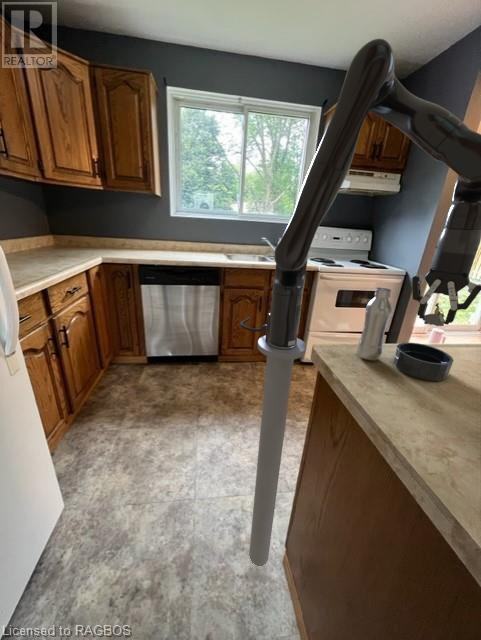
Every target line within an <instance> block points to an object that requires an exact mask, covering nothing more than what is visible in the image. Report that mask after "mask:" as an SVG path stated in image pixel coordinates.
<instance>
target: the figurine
mask: <svg viewBox="0 0 481 640" xmlns="http://www.w3.org/2000/svg"><path fill="white" fill-rule="evenodd" d="M444 318H445V313H444V311H443V309H442V307H440V304H439V302H436V304H435V309H434V311H433V313H428V314H425V315H424V317H423V319H422V321H424V322H423V324H424V325H430V326H436V327H443V326H445V325H446V324H445V320H446V319H444Z"/></svg>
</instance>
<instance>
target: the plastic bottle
mask: <svg viewBox="0 0 481 640" xmlns="http://www.w3.org/2000/svg"><path fill="white" fill-rule="evenodd" d="M373 294H374V297H373V298H372V299H370V300H369V302H368V303H367V304H366V307H365V315H364V324H363V329H362V332H361V335H360V338H359V340H358V342H357V344H356V353H357V355H358V357H360V358H361V359H364V360H367V361H377V360H379V359H380V358H381V356H382V354H383V349H384V346H383V344H384V339H385V338H384V337H385V332H386V329H387V327H388V323H389V322H390V319H391V317H392V315H393V312H394V310H393V309H394V308H393V306H392V303H391V301H390V298H391V294H392V289H390V288H387V287H376V288H375V291H374V293H373Z"/></svg>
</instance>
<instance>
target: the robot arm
mask: <svg viewBox="0 0 481 640" xmlns="http://www.w3.org/2000/svg"><path fill="white" fill-rule="evenodd" d="M337 99H338V100H337V103H336V106H335V108H334V110H333V114H332V116H331V119H330V121H329V123H328V124H327V127H326V129H325V132H324V134H323V136H322V139H321V141H320V143H319V146H318V148H317V151H316V153H315V155H314V157H313V159H312V161H311V164H310V166H309V169H308V171H307V174H306V176H305V179H304V181H303V184H302V186H301V189H300V192H299V194H298V199H297V201H296V205H295V208H294V210H293V215H292V217H291V219H290V220H289V223H288V225H287V226H286V229H285V231H284V233H283V235H282V236H281V238H280V240H279V242H278V243H277V245H276V247H275V249H274V254H273V257H274V262H275V272H274V278H273V280H272V281H273V282H272V290H271V302H270V311H269V312H270V313H267V315H266V316H267V318H266V323H265V324H264V325H262V326H261V327H260V328H252V327H248V326H246V325H244V324H245V323H247V322H249V321H250V320H251V317H250V316H248V317H247V318H246V319H244V320H242V321H240V323H239V326H240V327H241V328H242V329H243V330H246V331H249V332H255V333H256V332H257V333H258V332H259V333H260V332H263V334H264V333H265V335H266V339H265V342H267V343H268V344H269V345H270V346H271V347H273V348H276V349H281V350H289V349H293V348H295V347H296V346H297V338H298V334H299V327H300V321H301V320H300V319H301V313H302V305H303V296H304V290H305V289H304V288H305V283H306V275H307V268H308V260H309V252H310V250H311V246H312V244H313V241H314V238H315V236H316V233H317V230H318V228H319V227H320V225H321V223H322V220H323V219H324V218H325V216H326V214H327V213H328V212H329V210H330V209H331V207H332V205H333V203H334V201H335V200H336V198H337V196H338V194H339V192H340V190H341V188H342V186H343V184H344V182H345V180H346V177H347V175H348V173H349V170H350V168H351V165H352V164H353V163H352V162H353V159H354V155H355V152H356V149H357V146H358V145H357V144H358V141H359V137H360V133H361V131H362V128H363V125H364V123H365V119H366V117H367V115H368V113H369V112H370V113H372V114H373V115H375V116H377V117H380V118H381V119H383V120H384V121H386V122H388V123H389V124H391V125H392V126H393V127H395V128H396V129H398V130H399V131H400V132H401V133H403V134H404V135H405V136H406V137H407V138H409V139H410V141H412V142H413V143H414V144H415V145H417V146H418V147H419V148H420V149H422V150H423V152H425V153H426V154H427V155H428V156H430V157H431V158H432V159H434V160H435V161H436V162H438V163H444V164H445V165H446V166H447V167H448V168H450V170H452V171H453V172H455V174H456V175H457V176H456V181H455V185H454V190H453V194H452V199H451V204H450V206H449V208H448V211H447V214H446V217H445V220H444V224H443V227H442V230H441V232H440V235H439V238H438V240H437V243H436V246H435V250H434V254H433V258H432V260H431V264H430V268H429V270H428V272H427V273H426V274H424V275H418V274H417V275H414V276H413V277H411V283H412V284H411V285H412V289H411V290H412V300H414V301H417V302H418V303H419V306H418V309H417V313H416V314H417V316H418V318H419V319H421V320H423V317H424V315H426V313H427V309H428V306H429V303H428V302H429V300H430V299H431V298H432V296H434V294H437V295H438V294H441V295H444V296H448V299H449V300H448V301H449V305H450V306H449V307H450V308H449V309H448V312H447V314H446V317H445V319H444V320H445V324H444V325H446V326H448V325H449V324H452V323H453V322H454V321H455V318H456V315H457V312H458V311H460V310H462V311H463V310H465V311H466V310H467V309H469V307H470V305H472V303H473V302H474V301H475V299H476V297H477V296H478V295H479V294H480V292H481V284H480V283H479V284H477V283H475V282H472V281H470V277H469V276H470V273H471V270H472V267H473V264H474V261H475V259H476V256H477V252H478V250H479V247H480V243H481V133H479V132H477V131H475V130H472V129H471V128H470V127H468V125H467V124H466V123H464V122H463V121H462V120H460V119H459V118H458V117H457V116H456V115H454V113H452V112H451V111H449V110H448V109H446V108H445V107H443V106H441V105H439V104H437V103H435V102H432V101H428V100H426V99H423V98H421V97H418V96H416V95H415V94H413V93H411V92H410V91H409V90H407V88H406V87H404V85H403V84H402V83H401V82H400V80H399V79H398V78H397V77H396V75H395V54H394V51H393V48H392V46H391V44H390V43H389V41H387V40H386V39H384V38H375V39H371V40H369V41H368V42H367V43H365V44H364V45H363V46H362V47H361V48H360V49H359V50H358V51H357V52H356V53H355V55H354V56H353V58H352V60H351V62H350V64H349V66H348V68H347V71H346V75H345V78H344V81H343V84H342V87H341V90H340V93H339V96H338V98H337ZM424 281H426V283H427V286H428V287H429V288H428V290H427V291H426V292H425V294H424V295H422V294H421V293H422V292H421V285H423V283H424ZM466 287H467V288H468V289H467V292H468V293H470V294H469V295H468V296H467V298H466V299H465V300H464V302H461V303H459V292H460V291H461V290H463V289H464V288H466Z"/></svg>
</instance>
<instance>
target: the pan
mask: <svg viewBox="0 0 481 640" xmlns="http://www.w3.org/2000/svg"><path fill="white" fill-rule="evenodd" d="M454 361H455V359H454V357H452V356H451V354H449V353H447V352H446V351H445V350H444V351H443V350H442V349H439V348H437V347H434V346H431V345H427V344H424V343H423V344H422V343H418V342H400V343H398V345H396V349H395V351H394V356H393V359H392V362H393V364H394V366H395V367H396V368H397V369H398V370H399V371H400V372H402V373H404V374H405V375H407V376H410V377H413V378H415V379H419V380H422V381H428V382H440V381H443V380H446V379H448V377H449V375H450V372H451V369H452V367H453V363H454Z"/></svg>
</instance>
